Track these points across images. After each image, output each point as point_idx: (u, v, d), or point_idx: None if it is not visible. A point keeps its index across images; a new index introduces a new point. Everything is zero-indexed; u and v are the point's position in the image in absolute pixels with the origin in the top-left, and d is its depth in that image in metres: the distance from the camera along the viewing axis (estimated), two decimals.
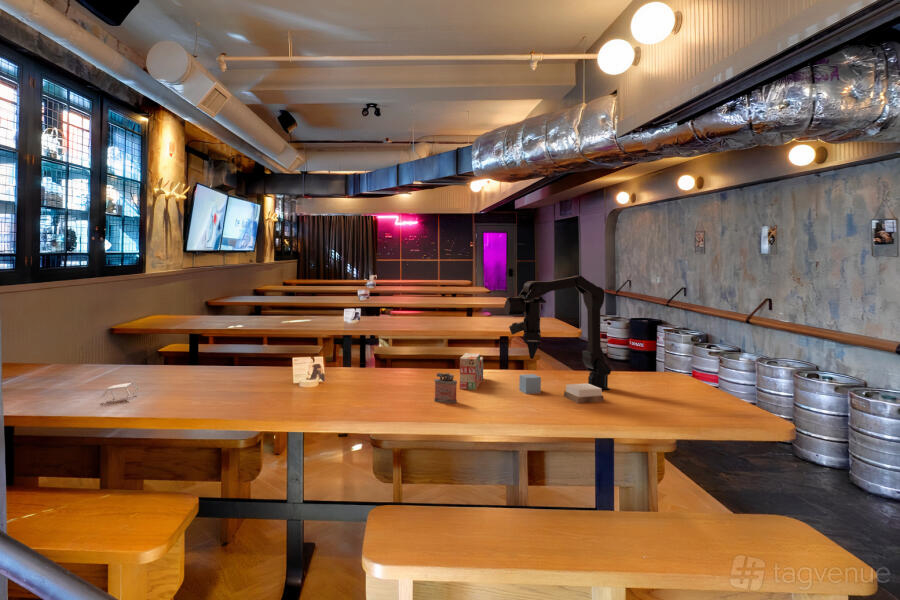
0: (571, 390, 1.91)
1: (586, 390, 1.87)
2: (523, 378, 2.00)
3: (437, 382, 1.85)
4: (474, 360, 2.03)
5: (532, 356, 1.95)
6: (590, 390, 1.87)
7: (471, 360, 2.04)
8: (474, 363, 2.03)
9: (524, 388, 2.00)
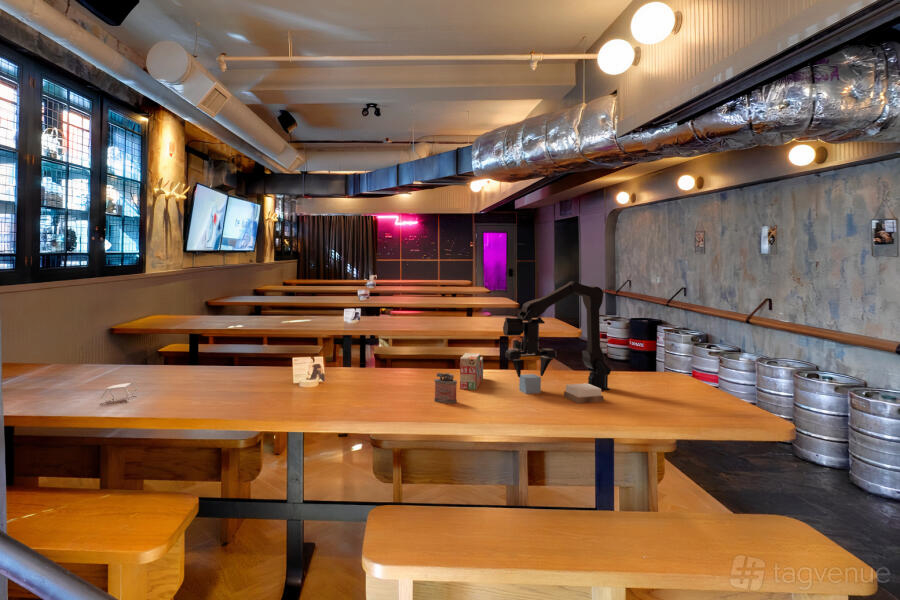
0: (571, 390, 1.91)
1: (586, 390, 1.87)
2: (523, 378, 2.00)
3: (437, 382, 1.85)
4: (474, 360, 2.03)
5: (518, 374, 2.00)
6: (590, 390, 1.87)
7: (471, 360, 2.04)
8: (474, 363, 2.04)
9: (524, 388, 2.00)
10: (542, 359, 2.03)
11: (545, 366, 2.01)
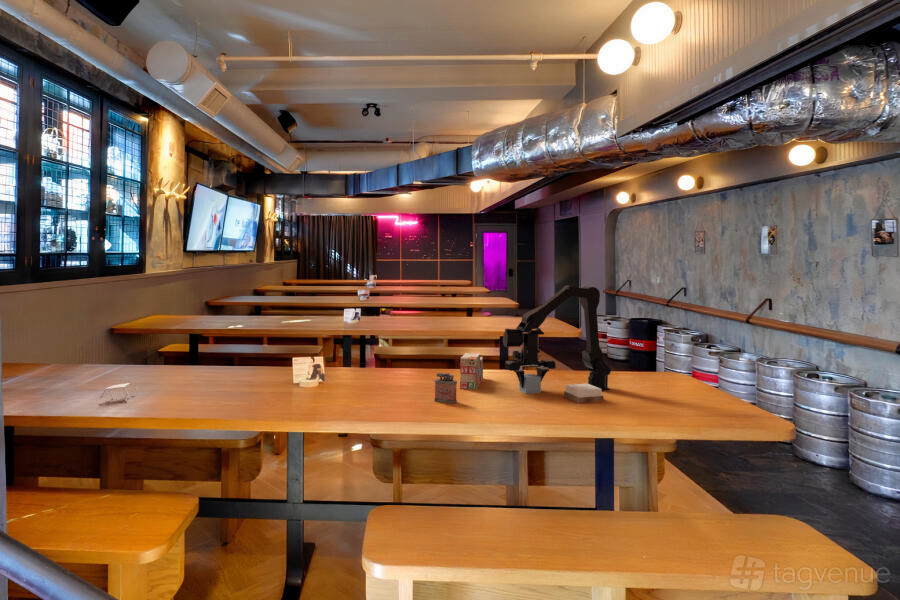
0: (571, 390, 1.91)
1: (586, 390, 1.87)
2: None
3: (437, 382, 1.85)
4: (474, 360, 2.04)
5: (521, 385, 2.01)
6: (590, 390, 1.87)
7: (471, 360, 2.04)
8: (474, 363, 2.04)
9: (524, 388, 2.00)
10: (539, 370, 2.03)
11: (541, 377, 2.01)
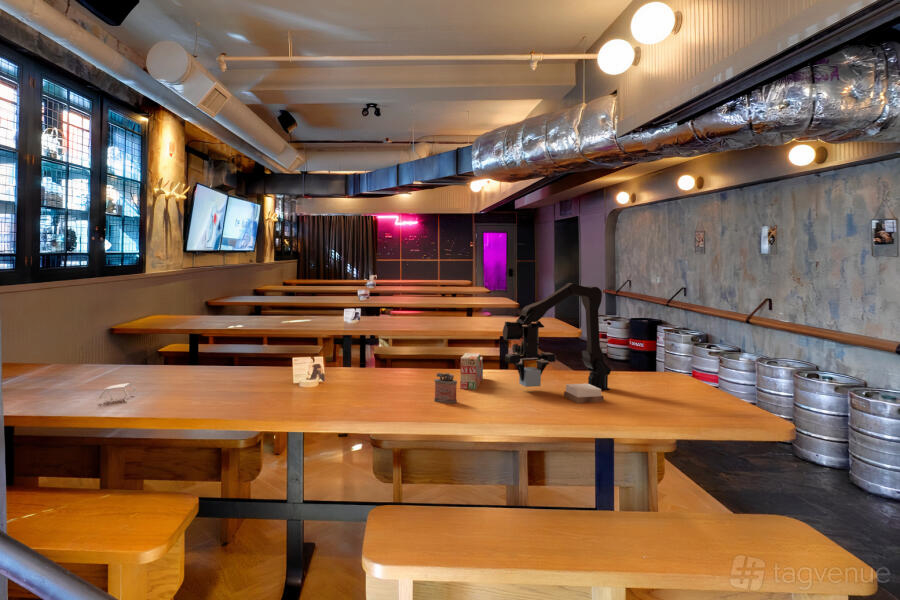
0: (570, 389, 1.91)
1: (585, 390, 1.87)
2: None
3: (437, 382, 1.85)
4: (475, 360, 2.04)
5: (521, 378, 2.01)
6: (589, 390, 1.87)
7: (472, 360, 2.04)
8: (475, 363, 2.04)
9: (524, 381, 2.00)
10: (539, 363, 2.03)
11: (541, 370, 2.01)
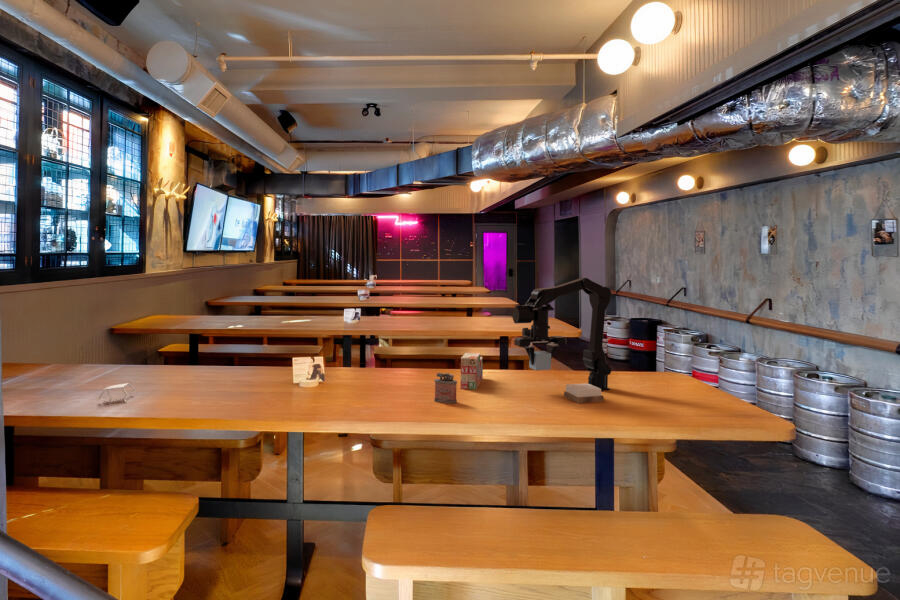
0: (570, 389, 1.91)
1: (585, 390, 1.87)
2: None
3: (437, 382, 1.85)
4: (475, 360, 2.04)
5: (531, 362, 1.99)
6: (589, 390, 1.87)
7: (472, 360, 2.04)
8: (475, 363, 2.04)
9: (534, 364, 1.97)
10: (549, 347, 2.00)
11: (551, 354, 1.99)
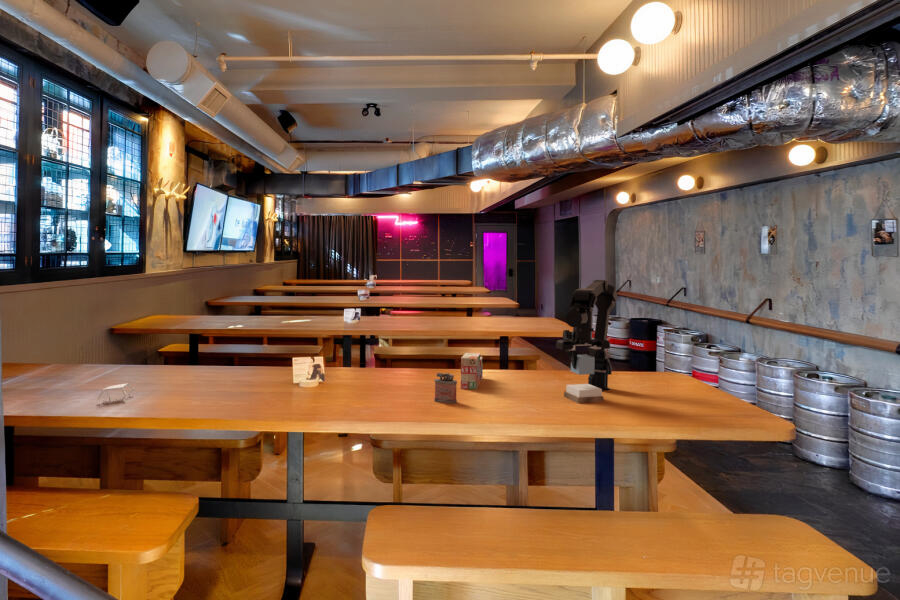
0: (571, 390, 1.91)
1: (586, 390, 1.87)
2: None
3: (437, 382, 1.85)
4: (475, 360, 2.04)
5: (573, 366, 1.90)
6: (590, 390, 1.87)
7: (472, 360, 2.04)
8: (475, 363, 2.04)
9: (577, 368, 1.89)
10: (591, 350, 1.92)
11: (595, 357, 1.90)
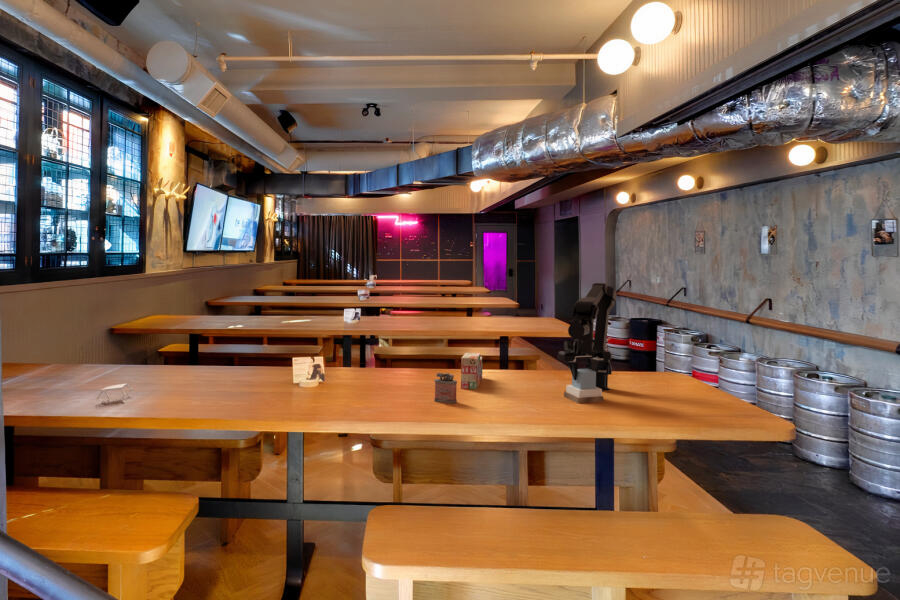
0: (571, 390, 1.91)
1: (586, 391, 1.87)
2: (577, 373, 1.90)
3: (437, 382, 1.85)
4: (475, 360, 2.04)
5: (574, 377, 1.90)
6: (590, 391, 1.87)
7: (472, 360, 2.05)
8: (475, 363, 2.04)
9: (578, 383, 1.89)
10: (594, 361, 1.92)
11: (597, 369, 1.90)
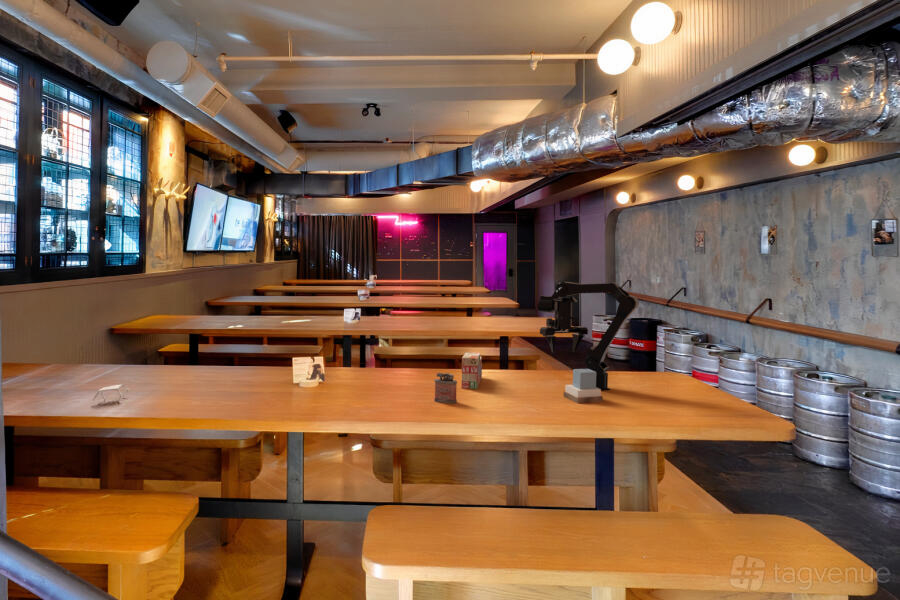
0: (570, 390, 1.91)
1: (585, 391, 1.87)
2: (577, 373, 1.90)
3: (437, 382, 1.85)
4: (476, 359, 2.05)
5: (552, 350, 2.12)
6: (589, 391, 1.87)
7: (473, 359, 2.05)
8: (476, 362, 2.05)
9: (578, 383, 1.89)
10: (575, 336, 2.15)
11: (577, 342, 2.13)
